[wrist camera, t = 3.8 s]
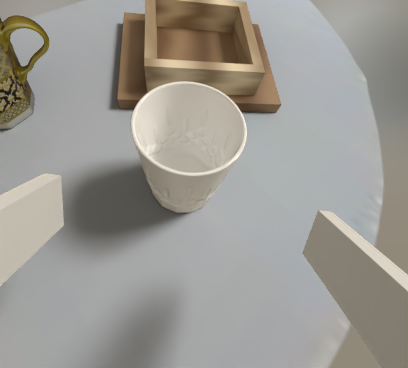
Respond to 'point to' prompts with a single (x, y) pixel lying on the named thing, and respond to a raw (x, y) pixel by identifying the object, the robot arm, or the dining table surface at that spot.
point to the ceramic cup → (16, 73)
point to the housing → (196, 52)
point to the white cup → (187, 142)
